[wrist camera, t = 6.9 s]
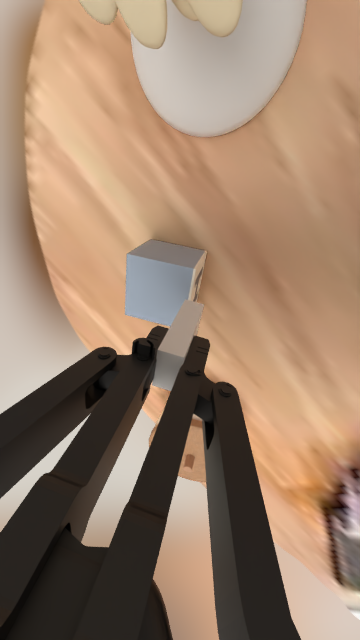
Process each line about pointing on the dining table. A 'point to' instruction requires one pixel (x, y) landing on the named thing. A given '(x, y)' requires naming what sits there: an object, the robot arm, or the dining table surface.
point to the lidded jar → (191, 451)
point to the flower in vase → (208, 56)
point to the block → (162, 280)
